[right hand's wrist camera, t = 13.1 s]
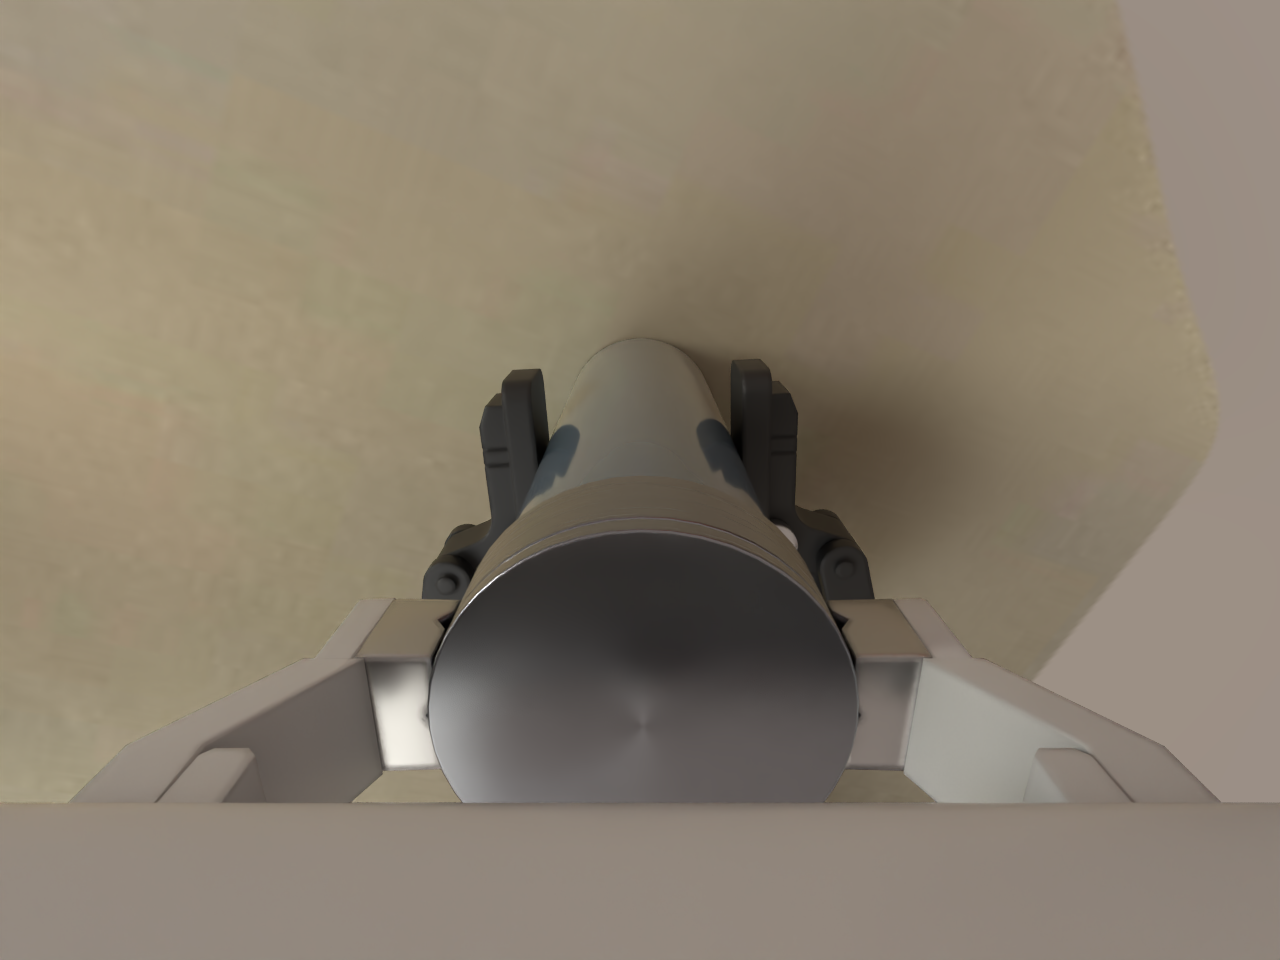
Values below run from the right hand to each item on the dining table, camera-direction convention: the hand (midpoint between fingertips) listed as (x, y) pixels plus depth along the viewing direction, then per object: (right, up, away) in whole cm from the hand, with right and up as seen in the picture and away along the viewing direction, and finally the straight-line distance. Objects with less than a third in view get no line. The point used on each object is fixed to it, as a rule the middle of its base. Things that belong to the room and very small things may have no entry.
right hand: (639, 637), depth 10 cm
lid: (0, -1, -2) cm, 2 cm away
